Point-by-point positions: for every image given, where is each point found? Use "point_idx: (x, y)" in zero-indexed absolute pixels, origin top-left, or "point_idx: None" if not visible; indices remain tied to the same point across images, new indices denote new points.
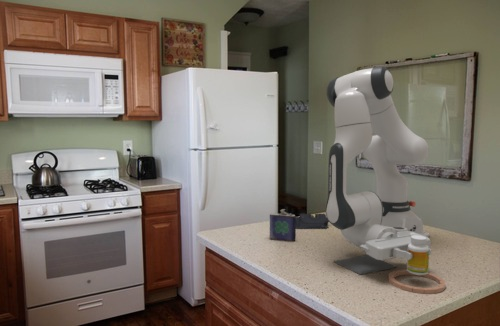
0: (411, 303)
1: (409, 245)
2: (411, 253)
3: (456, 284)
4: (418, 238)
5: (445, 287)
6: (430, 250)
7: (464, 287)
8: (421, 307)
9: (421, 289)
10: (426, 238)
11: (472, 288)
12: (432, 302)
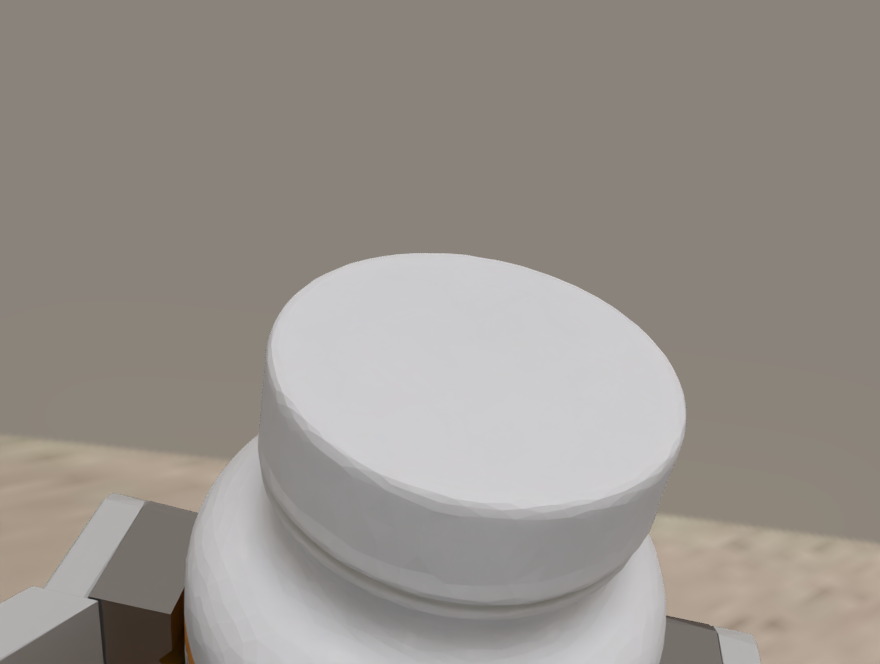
0: (862, 650)
1: (627, 659)
2: (686, 622)
3: (48, 577)
4: (578, 332)
5: None
6: (144, 503)
7: (90, 508)
8: (822, 570)
9: None
10: (400, 255)
11: (67, 462)
12: (664, 556)
